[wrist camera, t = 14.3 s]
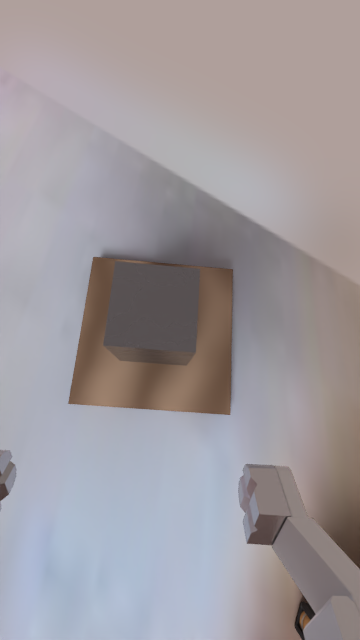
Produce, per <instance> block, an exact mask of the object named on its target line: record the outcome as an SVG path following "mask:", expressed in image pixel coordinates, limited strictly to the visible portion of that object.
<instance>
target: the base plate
mask: <svg viewBox="0 0 360 640" xmlns="http://www.w3.org/2000/svg"><path fill="white" fill-rule="evenodd" d="M115 261H118V262H129V263H141V264H152V265H163V266H175V267H186V268H197V269H200V283H199V302H198V322H197V342H196V353H195V355H194V356H193V357H192V359H191V360H190V362H189V363H188V364H187V366H183V365H170V364H156V363H143V362H129V361H120V360H119V359H118V358H116V357H115V356H114V355H113V354H112V353H111V352H110V351H109V350H107V349H106V348H105V347H104V346H103V342H104V335H105V328H106V321H107V315H108V308H109V301H110V294H111V287H112V280H113V273H114V266H115ZM232 283H233V269H223V268H212V267H201V266H189V265H178V264H167V263H156V262H145V261H133V260H122V259H111V258H100V257H93V262H92V268H91V274H90V280H89V286H88V292H87V297H86V303H85V309H84V315H83V321H82V327H81V333H80V339H79V344H78V350H77V356H76V362H75V368H74V374H73V380H72V385H71V391H70V397H69V403H68V404H80V405H94V406H109V407H123V408H138V409H152V410H167V411H181V412H196V413H211V414H225V415H230V401H231V342H232Z"/></svg>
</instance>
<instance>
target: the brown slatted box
mask: <svg viewBox="0 0 360 640" xmlns="http://www.w3.org/2000/svg"><path fill="white" fill-rule="evenodd" d="M315 615H316V614H315V612H314V611H313V609H312V608H311V606H310V605H309V604H307V603H305V602H301V605H300V608H299V612H298V616H297V620H296V624H295V628H296V630H297V632H298V633H299V635H300V637H301V638H302V640H305V638H304V634H303V630H304V628H305V626H306V625H307V624H308V622H309V621H310V620H311V619H312V618H313V617H314V616H315Z"/></svg>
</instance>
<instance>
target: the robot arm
mask: <svg viewBox="0 0 360 640" xmlns="http://www.w3.org/2000/svg"><path fill="white" fill-rule="evenodd" d="M11 458H12V454H11V452H10V450H0V501H1V500H2V499H4V498H5V497H6V496H7V495H9V493H10V491H11V489H12V487H13V485H14V481H15V478H16V466H15V464H13V463H12V462H11V461H10V460H11ZM243 473H244V475H243V476H242V477H240V481H239V488H238V493H239V502H240V507H241V508H242V509H243V511H244V512H245V516H244V519H243V525H244V531H245V536H246V542H247V544H260V545H273V546H272V548H273V550H274V551H275V553H276V554H277V556H278V557H279V559H280V560H281V562H282V563H283V565H284V566H285V568H286V569H287V571H288V572H289V574H290V576H291V577H292V579H293V580H294V582H295V583H296V585H297V586H298V588H299V589H300V591H301V592H302V594H303V595H304V597H305V598H306V600H307V601H308V603H309V605H310V606H311V608H312V609H313V611H314V612H315V614H316V615H315V616H314V617H313V618H312V619H311V620H310V621H309V622H308V624H307V625H306V626H305V628H304V630H303V634H304V638H305V640H360V569H359V568H358V567H357V566H356V565H355V564H354V562H353V561H352V560H351V559H350V558H349V557H348V556H347V555H346V554H345V553H344V552H343V550H342V549H341V548H340V547H339V546H338V545H337V544H336V543H335V542H334V541H333V540H332V539H331V537H330V536H329V535H328V534H327V533H326V532H325V531H324V530H323V529H322V528H321V527H320V525H319V524H318V523H317V522H316V521H315V520H314V519H313V518H308V515H307V512H306V510H305V507H304V504H303V502H302V499H301V496H300V493H299V491H298V488H297V485H296V482H295V480H294V477H293V474H292V472H291V470H290V468H289V467H287V466H273V465H257V464H246V465H244V468H243ZM0 510H1V502H0Z"/></svg>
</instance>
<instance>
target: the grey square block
mask: <svg viewBox="0 0 360 640" xmlns="http://www.w3.org/2000/svg"><path fill="white" fill-rule="evenodd" d="M199 283H200V269H197V268H186V267H175V266H163V265H152V264H141V263H129V262H118V261H115V266H114V273H113V280H112V287H111V294H110V301H109V308H108V315H107V321H106V328H105V335H104V342H103V346H104V347H105V348H106V349H107V350H109V351H110V352H111V353H112V354H113V355H114V356H115V357H116V358H118V359H119V360H120V361H129V362H143V363H156V364H170V365H183V366H187V364H188V363H189V362H190V360H191V359H192V357H193V356H194V355H195V353H196V342H197V322H198V302H199Z"/></svg>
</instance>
